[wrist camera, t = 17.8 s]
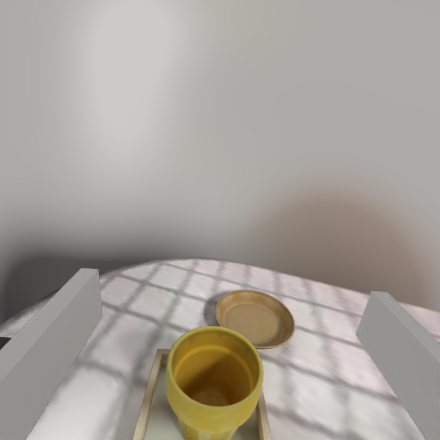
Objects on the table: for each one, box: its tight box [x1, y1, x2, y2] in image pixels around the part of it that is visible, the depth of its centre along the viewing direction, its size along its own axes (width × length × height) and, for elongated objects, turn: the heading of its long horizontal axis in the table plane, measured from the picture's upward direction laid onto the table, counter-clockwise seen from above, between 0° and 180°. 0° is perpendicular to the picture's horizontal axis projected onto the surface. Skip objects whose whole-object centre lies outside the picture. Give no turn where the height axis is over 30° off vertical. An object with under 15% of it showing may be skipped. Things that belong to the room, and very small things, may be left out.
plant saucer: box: [215, 290, 295, 349], centre depth 46 cm, size 15×15×3 cm
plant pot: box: [166, 326, 263, 440], centre depth 28 cm, size 10×10×10 cm
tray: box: [133, 349, 271, 440], centre depth 29 cm, size 15×15×3 cm
